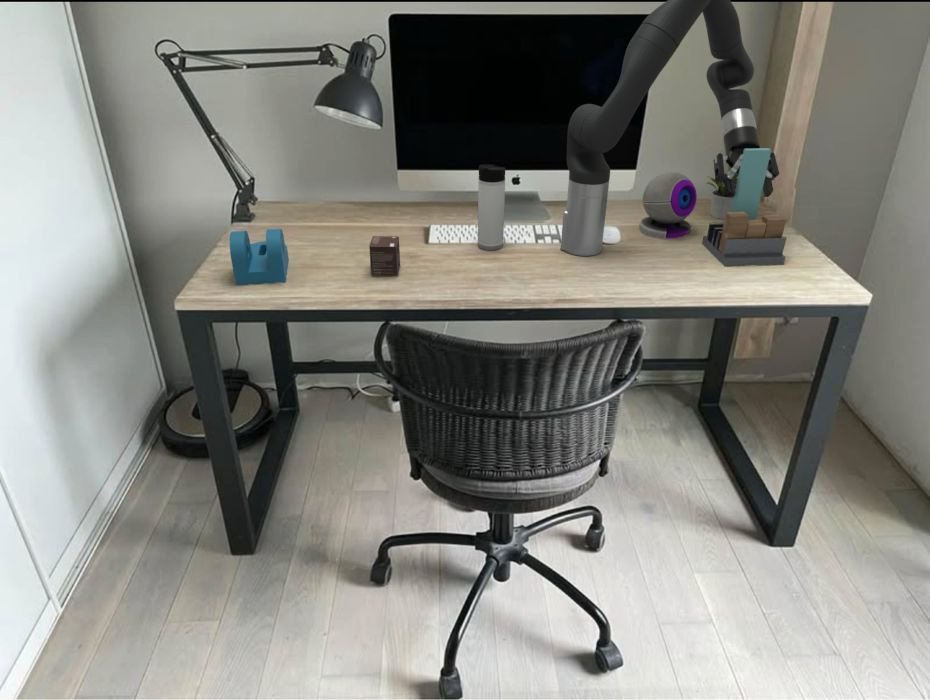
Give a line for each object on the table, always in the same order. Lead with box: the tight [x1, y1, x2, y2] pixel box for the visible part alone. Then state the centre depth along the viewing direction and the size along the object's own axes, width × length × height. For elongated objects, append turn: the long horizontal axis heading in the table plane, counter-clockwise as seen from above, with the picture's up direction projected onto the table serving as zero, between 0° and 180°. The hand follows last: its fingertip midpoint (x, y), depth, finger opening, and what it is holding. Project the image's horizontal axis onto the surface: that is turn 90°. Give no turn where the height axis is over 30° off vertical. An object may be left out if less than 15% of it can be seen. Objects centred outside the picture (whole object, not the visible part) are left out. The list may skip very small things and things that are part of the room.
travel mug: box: [477, 163, 506, 251], centre depth 163 cm, size 6×7×20 cm
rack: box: [701, 222, 787, 267], centre depth 163 cm, size 14×14×6 cm
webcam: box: [638, 171, 698, 240], centre depth 174 cm, size 13×13×15 cm
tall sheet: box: [731, 147, 772, 220], centre depth 160 cm, size 2×6×22 cm, turn 94°
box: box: [368, 235, 401, 277], centre depth 153 cm, size 6×6×7 cm
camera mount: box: [229, 228, 289, 286], centre depth 154 cm, size 18×10×10 cm, turn 10°
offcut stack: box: [719, 212, 787, 253], centre depth 158 cm, size 3×13×9 cm, turn 94°
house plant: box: [705, 154, 739, 220], centre depth 183 cm, size 14×14×16 cm
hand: (750, 195), depth 159 cm, fingers open, 8 cm apart
